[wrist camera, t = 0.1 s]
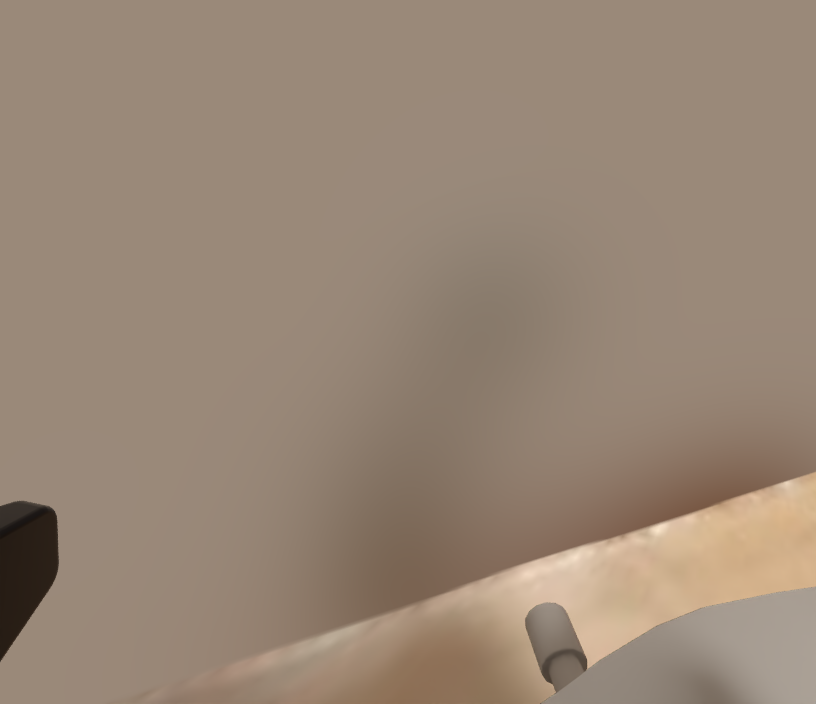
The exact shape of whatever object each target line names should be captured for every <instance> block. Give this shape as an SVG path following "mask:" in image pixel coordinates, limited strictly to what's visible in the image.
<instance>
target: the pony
mask: <svg viewBox="0 0 816 704" xmlns="http://www.w3.org/2000/svg"><path fill="white" fill-rule="evenodd" d="M525 624H526V629H527V632H528V635H529V638H530V641H531V644H532V647H533V650H534V653H535V656H536V659H537V662H538V665H539V667H540V670H541V673H542V675H543V677H544V678H545V680H546V681H547V682H549V683H551V684H553V686H554V688H555V691H556V693H555V694H554V695H552V696H551V697H549V698H548V699H546V700H545V701H543V702H542V703H540V704H816V587H811V588H804V589H797V590H791V591H784V592H777V593H772V594H767V595H762V596H757V597H752V598H747V599H742V600H737V601H732V602H727V603H722V604H717V605H712V606H707V607H704V608H700V609H698V610H695V611H693V612H690V613H688V614H685V615H683V616H680V617H678V618H675V619H673V620H670V621H668V622H665V623H663V624H660V625H658V626H656V627H654V628H652V629H651V630H649V631H647V632H646V633H644V634H642V635H641V636H639V637H637V638H636V639H634V640H632V641H631V642H629V643H627V644H626V645H624V646H623V647H621V648H619V649H618V650H616V651H614V652H613V653H611V654H609V655H608V656H606V657H604V658H603V659H601V660H599V661H598V662H597V663H595V664H594V665H593V666H592V667H590V668H589V669H588V670H587V658H586V656H585V654H584V651H583V649H582V647H581V644H580V642H579V640H578V638H577V635H576V633H575V631H574V628H573V626H572V624H571V621H570V619H569V617H568V614H567V613H566V611H565V610H564V608H563V607H562V606H560V605H558V604H556V603H543V604H540V605H537V606H535V607H534V608H533V609H532V610H530V611H529V613H528V615H527V617H526V619H525Z"/></svg>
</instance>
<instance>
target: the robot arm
mask: <svg viewBox="0 0 816 704" xmlns="http://www.w3.org/2000/svg"><path fill="white" fill-rule="evenodd" d="M57 531H58V529H57V516H56V513H55V511H54V510H53V509H52V508H51V507H49V506H45V505H41V504H36V503H31V502H27V501H17V502H12V503H9V504H6V505H2V506H0V661H1V660H2V658H3V657H4V656H5V654H6V653H7V651H8V650H9V648H10V647H11V645H12V644H13V642H14V641H15V639H16V638H17V636H18V635H19V633H20V632H21V630H22V629H23V627H24V626H25V625H26V623H27V621H28V620H29V619H30V617H31V615H32V614H33V613H34V611H35V610H36V608H37V607H38V605H39V604H40V602H41V601H42V599H43V598H44V597H45V595H46V593H47V592H48V591H49V589H50V587H51V586H52V584H53V582H54V580H55V578H56V575H57V572H58V564H59V559H58V558H59V556H58V532H57Z"/></svg>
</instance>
